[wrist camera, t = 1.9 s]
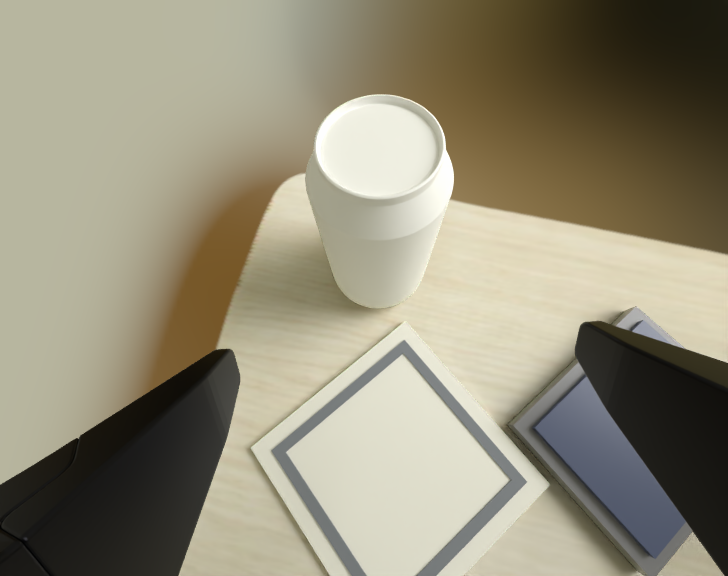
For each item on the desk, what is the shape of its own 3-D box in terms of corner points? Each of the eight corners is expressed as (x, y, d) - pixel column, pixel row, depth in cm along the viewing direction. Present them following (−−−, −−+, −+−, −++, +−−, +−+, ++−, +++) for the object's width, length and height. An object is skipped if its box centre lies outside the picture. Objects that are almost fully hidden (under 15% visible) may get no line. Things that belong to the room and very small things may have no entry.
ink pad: (637, 571, 18) (659, 584, 16) (506, 425, 20) (516, 425, 19) (757, 426, 20) (784, 427, 18) (625, 310, 22) (640, 304, 21)
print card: (382, 656, 17) (382, 661, 17) (252, 447, 20) (249, 447, 20) (547, 483, 19) (551, 485, 19) (405, 321, 23) (405, 320, 22)
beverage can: (435, 298, 23) (490, 189, 12) (346, 323, 23) (316, 234, 11) (406, 221, 25) (430, 66, 14) (324, 243, 25) (281, 101, 14)
